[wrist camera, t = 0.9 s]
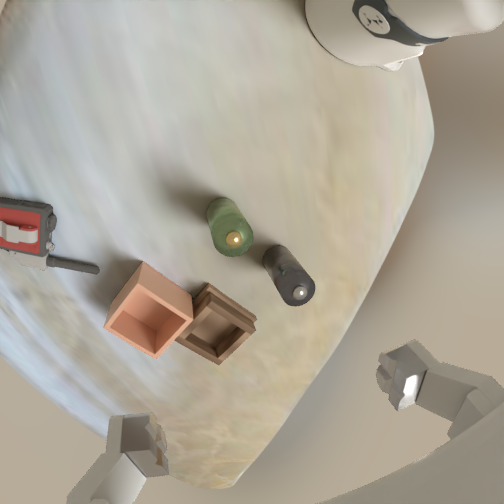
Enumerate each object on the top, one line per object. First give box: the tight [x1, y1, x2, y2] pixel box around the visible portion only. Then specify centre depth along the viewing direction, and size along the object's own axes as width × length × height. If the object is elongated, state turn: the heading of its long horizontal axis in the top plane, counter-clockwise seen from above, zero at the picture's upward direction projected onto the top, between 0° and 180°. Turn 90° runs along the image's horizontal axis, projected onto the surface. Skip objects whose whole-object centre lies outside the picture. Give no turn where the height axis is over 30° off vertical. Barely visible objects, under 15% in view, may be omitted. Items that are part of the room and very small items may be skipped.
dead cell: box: [263, 245, 315, 306], centre depth 39 cm, size 4×4×10 cm
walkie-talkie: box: [0, 197, 100, 274], centre depth 33 cm, size 9×4×20 cm
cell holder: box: [175, 283, 257, 365], centre depth 44 cm, size 9×9×4 cm
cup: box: [103, 261, 193, 359], centre depth 39 cm, size 8×8×6 cm
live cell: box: [207, 198, 253, 257], centre depth 35 cm, size 4×4×10 cm
